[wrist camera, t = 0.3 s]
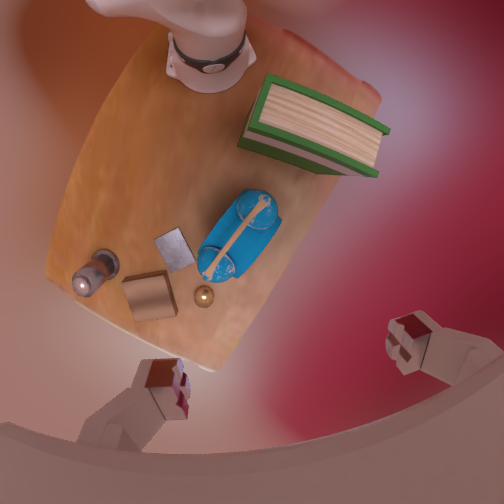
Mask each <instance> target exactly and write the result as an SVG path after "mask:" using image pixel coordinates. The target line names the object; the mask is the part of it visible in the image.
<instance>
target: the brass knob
mask: <svg viewBox="0 0 504 504" xmlns="http://www.w3.org/2000/svg"><path fill="white" fill-rule="evenodd" d="M194 301H195V303H196V305H197V306H199V307H201V308H207V307H209V306H210V305H211V304H212V303H213V291H212V289H211V288H210V287H208V286H204V285H203V286H200V287H198V288H197V289H196V292H195V297H194Z"/></svg>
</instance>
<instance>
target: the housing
mask: <svg viewBox="0 0 504 504" xmlns="http://www.w3.org/2000/svg"><path fill="white" fill-rule="evenodd" d="M118 271H119V260H118V258H117V256H116V255H115V254H114V253H113V252H112V251H110V250H108V249H101V250H98V251H97V252H96V253H95V254H94V255H93V256H92V259H91V261H90V262H88V263H87V264H86V265H84V266H83V267H82V268H81V269H79V270H78V271H77V272H75V273H74V275H73V277H72V288H73V290H74V292H75V293H76V294H77V295H79V296H83V297H90V296H92V295H93V294H94V293H95V292H96V291H97V290H98V289H99V287H100V286H101V285H102V284H103V283H104V282H105V281H106V280H110V279H112V278H114V277H115V276H116V275H117V273H118Z"/></svg>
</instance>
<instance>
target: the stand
mask: <svg viewBox="0 0 504 504" xmlns="http://www.w3.org/2000/svg"><path fill="white" fill-rule="evenodd" d="M122 286H123V289H124V292H125V295H126V298H127V300H128V303H129V306H130V309H131V312H132V314H133V317H134V320H135V322H143V321H151V320H158V319H165V318H172V317H176V315H177V312H178V309H177V306H176V303H175V299H174V296H173V293H172V289H171V286H170V282H169V278H168V275H167V271H166V270H164V271H159V272H154V273H148V274H143V275H137V276H132V277H126V278H125V279H124V280H123V281H122Z"/></svg>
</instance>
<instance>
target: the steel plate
mask: <svg viewBox="0 0 504 504" xmlns="http://www.w3.org/2000/svg"><path fill="white" fill-rule="evenodd" d="M154 242H155V244H156V246H157V248H158V250H159V251H160V253H161V255H162V257H163V259H164V261H165V262H166V264H167V266H168V268H169V270H170V271H171V273H172V272H174V271H177V270H179V269H181V268H183V267H185V266H187V265H189V264H191V263H194V262H196V260H195V258H194V256H193V254H192V252H191V250H190V248H189V246H188V244H187V242H186V240H185V238H184V237H183V235H182V233H181V231H180V229H179V227H178V228H176V229H174V230H172V231H170V232H168V233H166V234H164V235H162V236H160V237H158V238H156V239H154Z"/></svg>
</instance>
